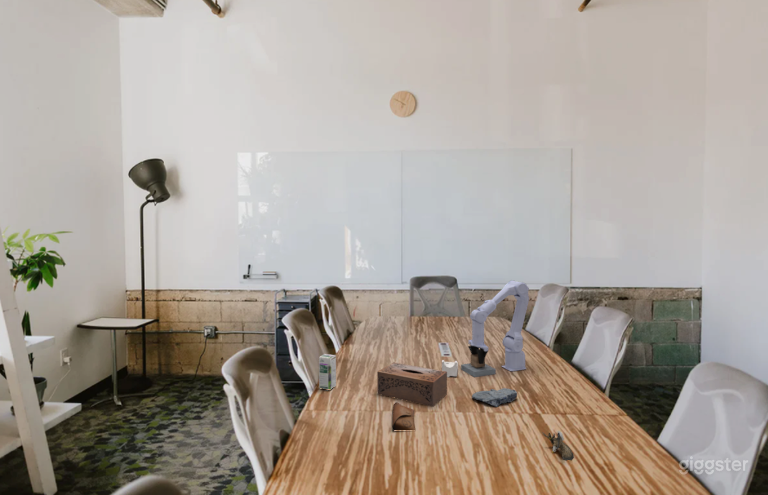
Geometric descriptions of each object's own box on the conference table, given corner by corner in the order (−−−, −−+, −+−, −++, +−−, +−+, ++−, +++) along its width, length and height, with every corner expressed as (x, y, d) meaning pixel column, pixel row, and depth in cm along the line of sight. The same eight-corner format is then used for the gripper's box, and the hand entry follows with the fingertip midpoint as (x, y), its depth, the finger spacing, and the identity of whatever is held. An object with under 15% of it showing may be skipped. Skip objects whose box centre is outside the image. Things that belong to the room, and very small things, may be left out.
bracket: (456, 378, 195) (456, 362, 195) (441, 377, 197) (441, 361, 197) (457, 369, 208) (457, 354, 208) (443, 368, 210) (443, 353, 209)
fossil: (467, 398, 172) (467, 389, 172) (501, 391, 179) (501, 381, 179) (487, 410, 160) (487, 400, 160) (522, 401, 168) (522, 392, 168)
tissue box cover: (446, 394, 176) (446, 371, 175) (433, 407, 163) (433, 382, 163) (393, 384, 188) (393, 362, 188) (377, 394, 176) (377, 371, 176)
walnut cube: (479, 363, 207) (479, 353, 207) (485, 366, 202) (485, 356, 202) (470, 364, 205) (470, 354, 205) (476, 367, 200) (476, 357, 200)
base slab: (481, 366, 211) (481, 361, 211) (495, 374, 200) (495, 368, 200) (461, 369, 207) (461, 364, 207) (474, 377, 196) (474, 372, 196)
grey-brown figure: (536, 444, 132) (554, 453, 123) (545, 423, 133) (563, 430, 125) (556, 455, 132) (574, 465, 124) (564, 434, 134) (583, 443, 125)
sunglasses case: (417, 431, 142) (407, 415, 142) (399, 441, 143) (389, 425, 143) (414, 409, 160) (405, 394, 160) (399, 418, 161) (390, 403, 161)
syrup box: (318, 389, 181) (318, 356, 181) (325, 384, 187) (324, 353, 186) (330, 391, 179) (330, 358, 179) (336, 386, 185) (336, 354, 185)
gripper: (463, 331, 208) (463, 358, 209) (479, 338, 195) (479, 367, 195) (475, 330, 211) (475, 357, 211) (492, 337, 197) (492, 365, 198)
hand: (478, 361), depth 203 cm, fingers closed on walnut cube, 5 cm apart
